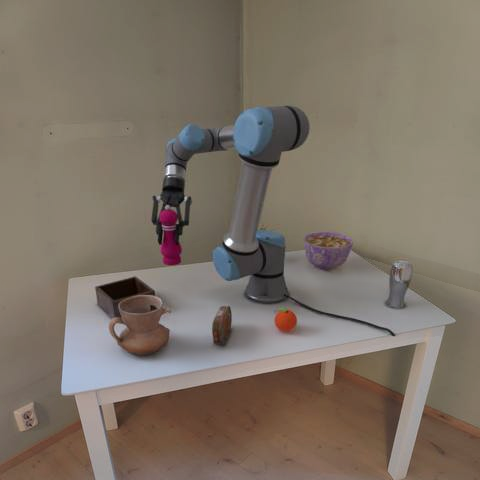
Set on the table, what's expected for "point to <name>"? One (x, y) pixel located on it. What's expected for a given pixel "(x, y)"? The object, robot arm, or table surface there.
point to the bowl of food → (327, 249)
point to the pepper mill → (170, 237)
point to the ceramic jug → (141, 325)
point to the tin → (222, 325)
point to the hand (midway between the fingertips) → (168, 243)
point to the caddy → (121, 294)
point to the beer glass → (399, 283)
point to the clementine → (285, 320)
